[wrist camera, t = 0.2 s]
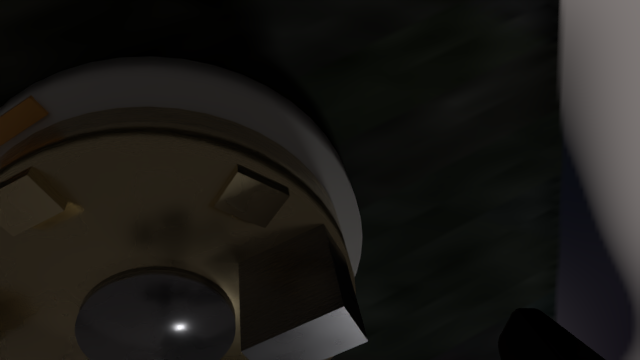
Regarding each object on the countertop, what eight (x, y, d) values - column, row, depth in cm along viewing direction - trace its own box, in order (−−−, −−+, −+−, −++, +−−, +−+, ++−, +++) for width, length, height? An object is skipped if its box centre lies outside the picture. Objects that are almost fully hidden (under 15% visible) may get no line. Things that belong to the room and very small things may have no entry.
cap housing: (130, 392, 31) (125, 425, 30) (-151, 181, 21) (-185, 214, 19) (403, 272, 29) (414, 301, 27) (236, -32, 19) (238, -17, 17)
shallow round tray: (128, 414, 29) (104, 560, 23) (-139, 225, 20) (-288, 390, 14) (391, 300, 27) (436, 430, 21) (228, 28, 17) (230, 129, 12)
